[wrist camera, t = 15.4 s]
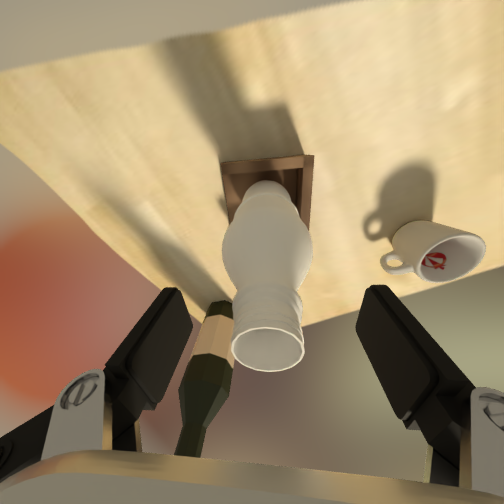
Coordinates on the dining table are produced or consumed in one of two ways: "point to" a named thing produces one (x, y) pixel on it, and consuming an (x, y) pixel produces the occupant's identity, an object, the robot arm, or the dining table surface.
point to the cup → (434, 251)
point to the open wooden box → (273, 169)
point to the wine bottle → (206, 378)
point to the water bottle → (267, 277)
